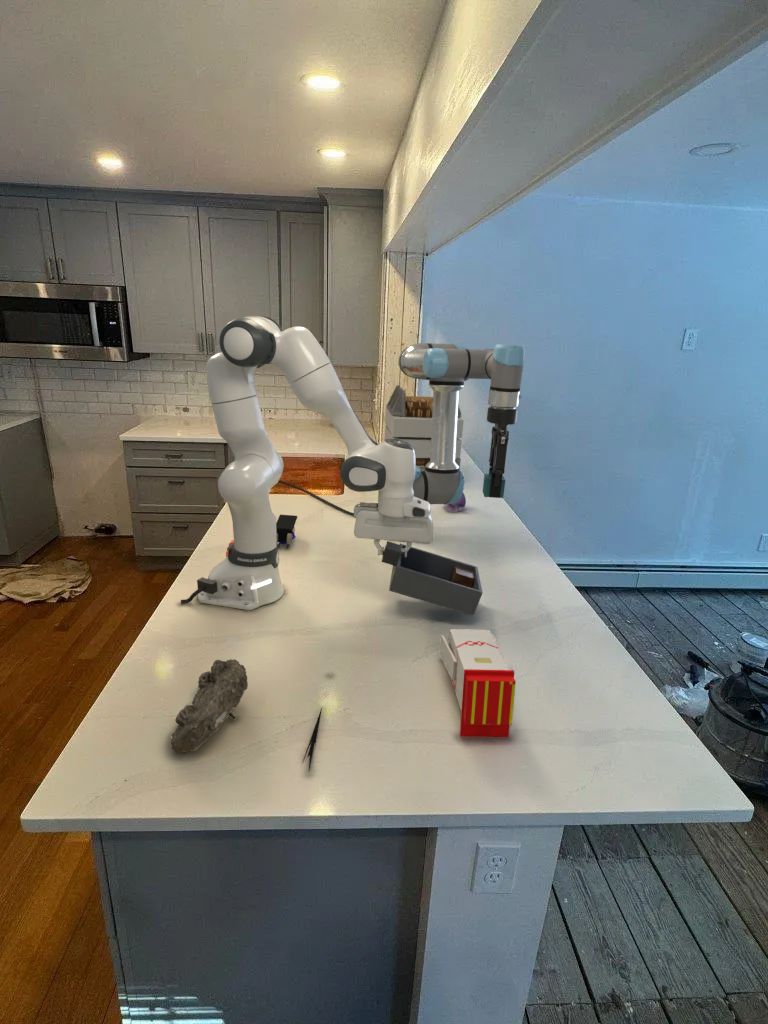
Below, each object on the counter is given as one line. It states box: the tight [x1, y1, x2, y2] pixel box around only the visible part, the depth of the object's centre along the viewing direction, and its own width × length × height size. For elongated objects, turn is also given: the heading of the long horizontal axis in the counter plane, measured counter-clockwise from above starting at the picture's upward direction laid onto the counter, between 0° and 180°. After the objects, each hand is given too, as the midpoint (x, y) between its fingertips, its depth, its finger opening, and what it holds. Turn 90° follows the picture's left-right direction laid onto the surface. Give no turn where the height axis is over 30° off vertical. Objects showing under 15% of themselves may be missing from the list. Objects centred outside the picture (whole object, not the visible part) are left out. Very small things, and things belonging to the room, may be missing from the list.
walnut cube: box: [450, 566, 474, 588], centre depth 151 cm, size 5×5×5 cm
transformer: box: [383, 384, 464, 471], centre depth 268 cm, size 34×33×41 cm
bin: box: [381, 540, 484, 617], centre depth 147 cm, size 26×16×8 cm, turn 86°
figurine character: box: [276, 514, 298, 549], centre depth 187 cm, size 7×8×15 cm
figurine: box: [444, 492, 467, 513], centre depth 225 cm, size 9×10×15 cm
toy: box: [438, 628, 517, 738], centre depth 117 cm, size 12×13×30 cm
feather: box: [301, 673, 332, 771], centre depth 108 cm, size 2×28×2 cm
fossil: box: [170, 658, 249, 753], centre depth 106 cm, size 22×10×15 cm
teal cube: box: [482, 473, 506, 499], centre depth 152 cm, size 5×5×5 cm
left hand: (392, 555), depth 146 cm, fingers closed on bin, 4 cm apart
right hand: (493, 493), depth 153 cm, fingers closed on teal cube, 5 cm apart
